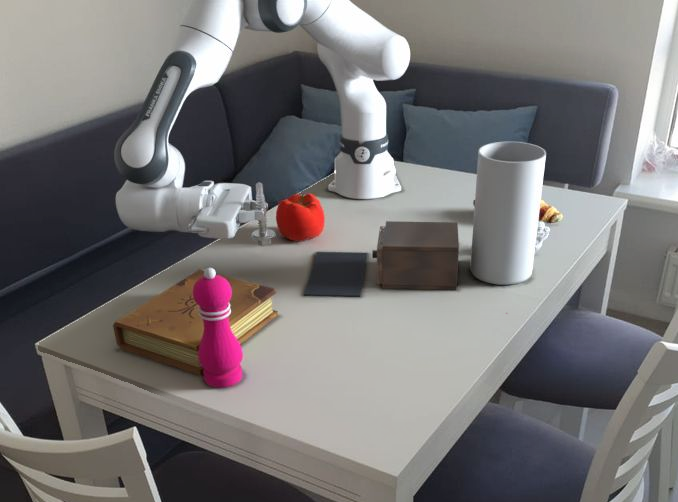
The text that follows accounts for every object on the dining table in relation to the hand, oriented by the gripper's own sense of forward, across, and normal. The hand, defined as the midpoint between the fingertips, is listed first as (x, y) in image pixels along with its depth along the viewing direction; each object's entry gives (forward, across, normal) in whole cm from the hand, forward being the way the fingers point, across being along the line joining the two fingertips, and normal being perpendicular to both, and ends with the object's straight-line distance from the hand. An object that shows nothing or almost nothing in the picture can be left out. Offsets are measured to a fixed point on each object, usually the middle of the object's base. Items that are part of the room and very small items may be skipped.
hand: (265, 211), depth 159 cm
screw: (-1, 0, +7) cm, 7 cm away
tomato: (+4, +19, +14) cm, 24 cm away
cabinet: (+31, 0, +13) cm, 34 cm away
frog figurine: (+54, +12, +14) cm, 57 cm away
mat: (+14, 0, +13) cm, 19 cm away
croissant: (+53, +31, +14) cm, 63 cm away
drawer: (+29, 0, +12) cm, 31 cm away
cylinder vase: (+47, +2, +14) cm, 49 cm away
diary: (-9, -25, +13) cm, 30 cm away
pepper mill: (-1, -40, +13) cm, 42 cm away
